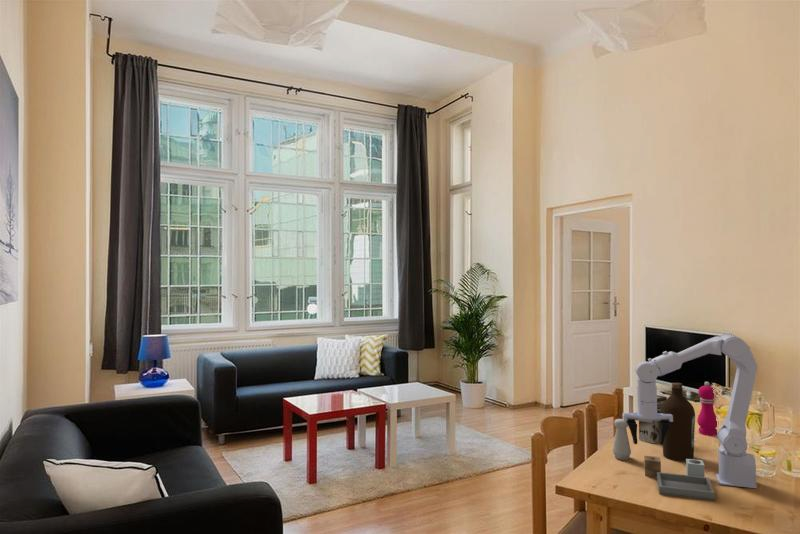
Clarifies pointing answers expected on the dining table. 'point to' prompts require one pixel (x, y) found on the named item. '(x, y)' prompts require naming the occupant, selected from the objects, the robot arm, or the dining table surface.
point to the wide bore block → (695, 468)
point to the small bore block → (652, 465)
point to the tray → (685, 486)
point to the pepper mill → (707, 411)
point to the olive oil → (679, 426)
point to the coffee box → (651, 425)
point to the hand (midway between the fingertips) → (648, 443)
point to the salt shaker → (621, 440)
